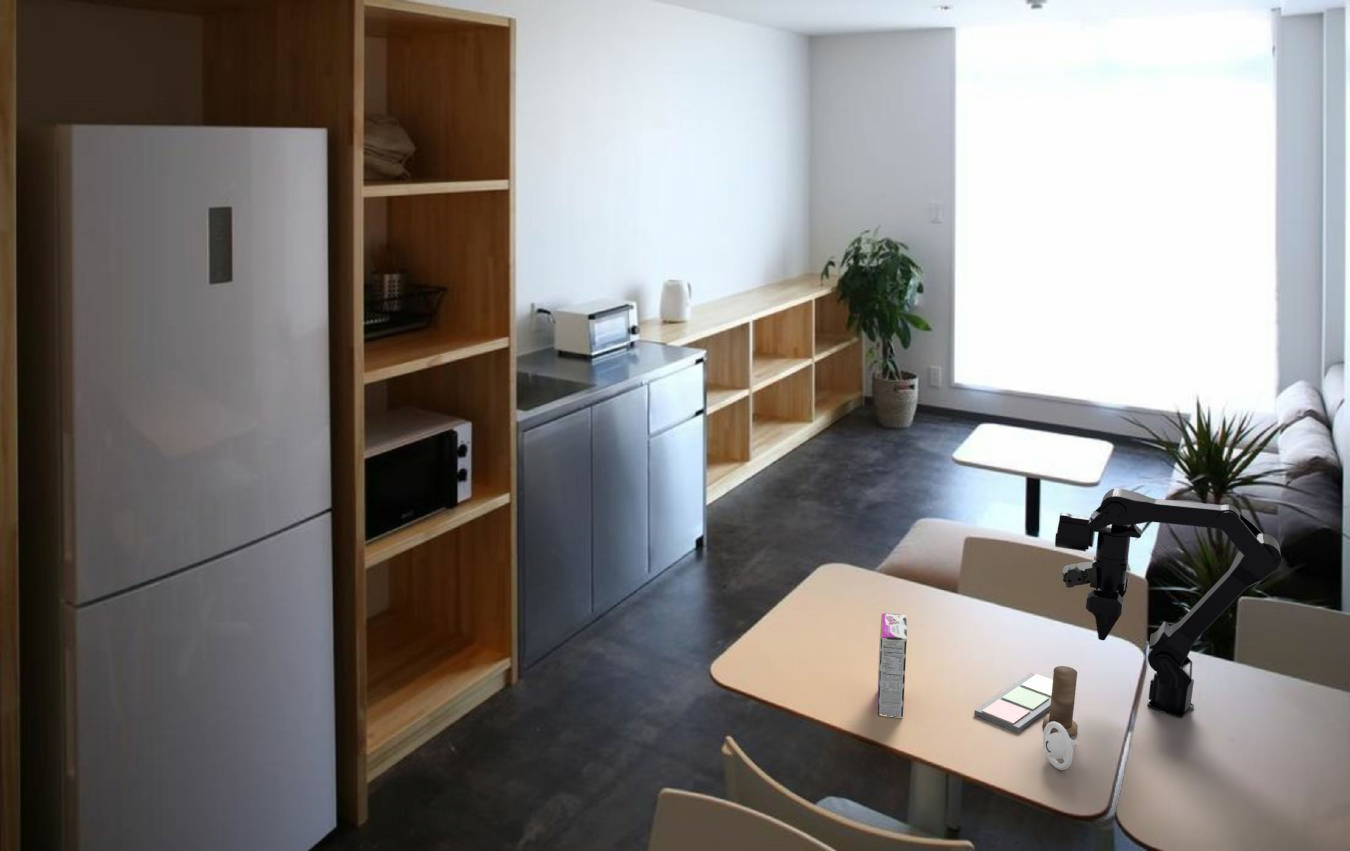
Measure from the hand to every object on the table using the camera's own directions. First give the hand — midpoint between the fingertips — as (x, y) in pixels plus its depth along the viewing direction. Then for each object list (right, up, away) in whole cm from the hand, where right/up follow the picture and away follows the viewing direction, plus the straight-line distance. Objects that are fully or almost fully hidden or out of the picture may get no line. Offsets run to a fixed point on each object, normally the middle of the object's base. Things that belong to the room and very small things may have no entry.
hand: (1103, 630), depth 203 cm
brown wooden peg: (-12, -16, -11) cm, 23 cm away
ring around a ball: (-17, -19, -23) cm, 34 cm away
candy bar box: (-42, -14, -2) cm, 44 cm away
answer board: (-16, -14, -2) cm, 21 cm away
